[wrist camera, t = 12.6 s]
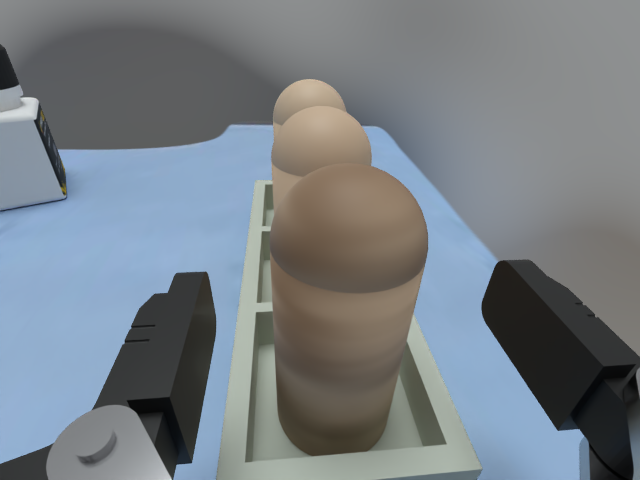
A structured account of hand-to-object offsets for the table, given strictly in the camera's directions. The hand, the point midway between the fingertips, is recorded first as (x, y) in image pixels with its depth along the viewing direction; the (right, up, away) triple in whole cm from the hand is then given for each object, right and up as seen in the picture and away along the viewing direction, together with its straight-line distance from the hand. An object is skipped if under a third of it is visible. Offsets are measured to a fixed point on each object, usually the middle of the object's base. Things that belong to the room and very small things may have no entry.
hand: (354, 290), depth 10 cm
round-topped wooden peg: (0, -5, +5) cm, 7 cm away
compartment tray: (-1, -2, +11) cm, 11 cm away
